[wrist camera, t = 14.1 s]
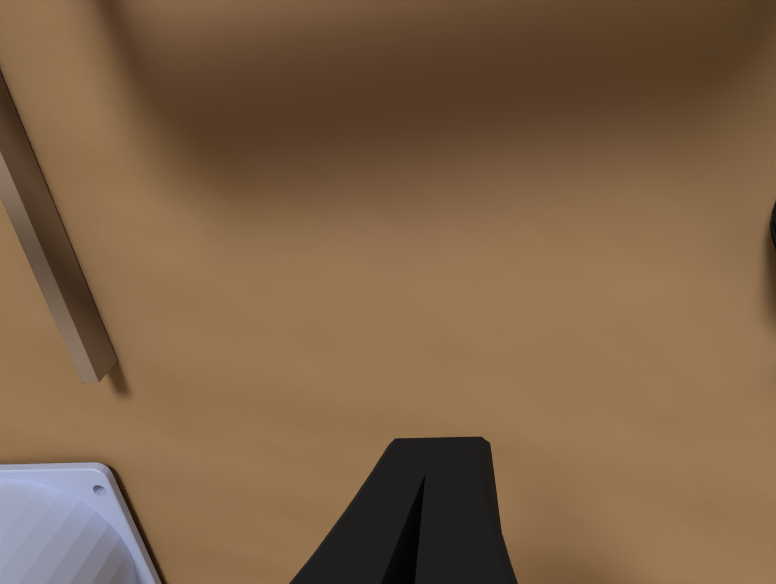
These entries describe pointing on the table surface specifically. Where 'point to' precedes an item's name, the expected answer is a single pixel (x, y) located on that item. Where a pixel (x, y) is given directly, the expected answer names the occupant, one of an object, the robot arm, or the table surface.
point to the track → (49, 249)
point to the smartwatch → (773, 225)
